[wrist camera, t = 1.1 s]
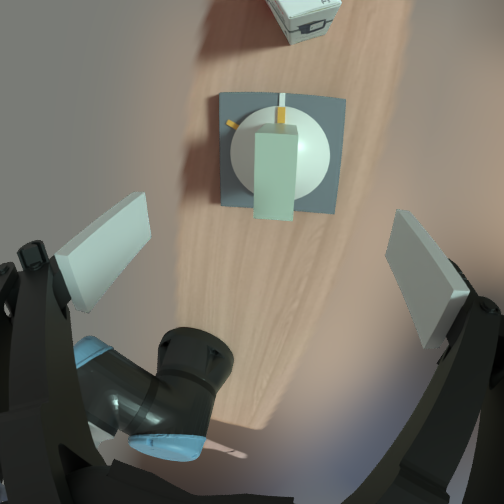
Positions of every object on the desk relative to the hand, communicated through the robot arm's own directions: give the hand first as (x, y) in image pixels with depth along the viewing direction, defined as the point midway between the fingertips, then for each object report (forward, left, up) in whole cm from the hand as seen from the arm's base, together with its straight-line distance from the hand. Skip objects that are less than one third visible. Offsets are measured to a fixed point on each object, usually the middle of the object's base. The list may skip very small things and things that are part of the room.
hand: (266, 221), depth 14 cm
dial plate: (0, 0, -22) cm, 22 cm away
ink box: (+18, -1, -22) cm, 28 cm away
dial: (0, 0, -19) cm, 19 cm away
